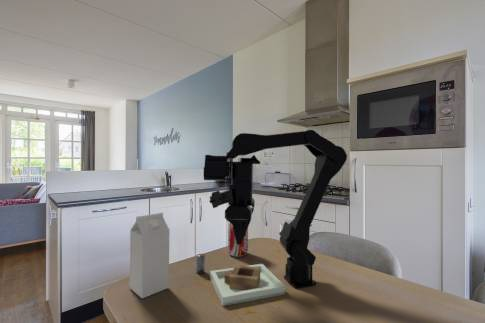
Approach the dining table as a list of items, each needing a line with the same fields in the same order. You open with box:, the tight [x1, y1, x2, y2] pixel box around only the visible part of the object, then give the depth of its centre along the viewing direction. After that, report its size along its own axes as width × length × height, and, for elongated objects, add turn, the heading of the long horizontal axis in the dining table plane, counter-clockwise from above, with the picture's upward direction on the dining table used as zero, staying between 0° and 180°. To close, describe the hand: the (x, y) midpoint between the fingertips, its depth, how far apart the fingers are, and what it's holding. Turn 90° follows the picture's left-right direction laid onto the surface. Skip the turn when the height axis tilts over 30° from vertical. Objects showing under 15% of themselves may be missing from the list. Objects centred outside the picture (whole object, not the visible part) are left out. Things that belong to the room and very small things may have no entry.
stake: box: [195, 253, 206, 275], centre depth 71 cm, size 2×2×5 cm
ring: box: [224, 264, 260, 290], centre depth 64 cm, size 9×7×3 cm
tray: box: [209, 263, 286, 307], centre depth 64 cm, size 16×14×2 cm
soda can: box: [227, 222, 249, 258], centre depth 86 cm, size 7×7×12 cm
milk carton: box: [129, 212, 170, 299], centre depth 62 cm, size 7×7×19 cm
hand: (241, 238), depth 65 cm, fingers open, 9 cm apart
